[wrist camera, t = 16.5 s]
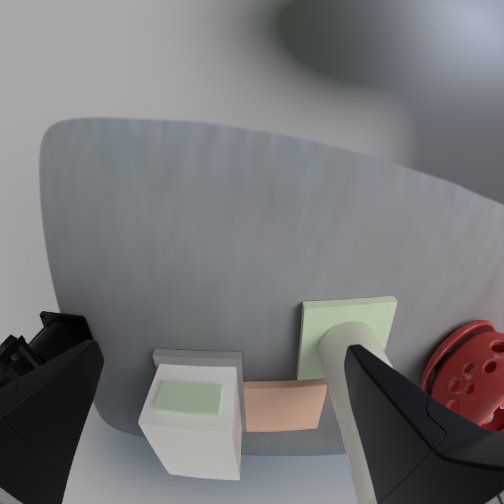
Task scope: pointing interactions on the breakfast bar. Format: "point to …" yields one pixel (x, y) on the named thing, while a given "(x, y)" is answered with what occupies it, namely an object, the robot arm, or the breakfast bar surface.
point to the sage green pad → (331, 314)
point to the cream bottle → (333, 367)
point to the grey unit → (196, 412)
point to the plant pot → (469, 374)
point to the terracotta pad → (283, 404)
